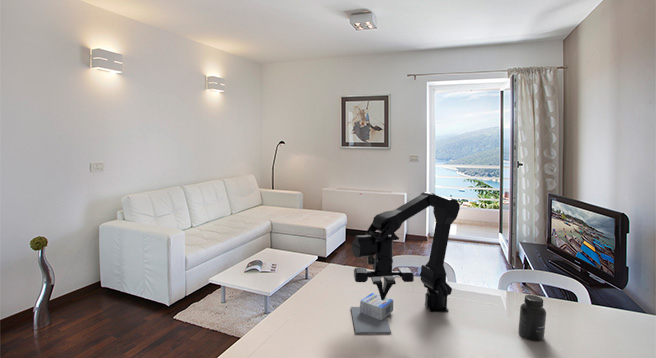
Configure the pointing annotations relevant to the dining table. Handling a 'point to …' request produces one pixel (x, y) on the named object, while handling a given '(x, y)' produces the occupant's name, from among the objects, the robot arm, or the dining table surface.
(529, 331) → the supplement bottle
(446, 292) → the robot arm
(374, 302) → the medicine box
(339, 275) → the dining table surface
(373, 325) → the mat
